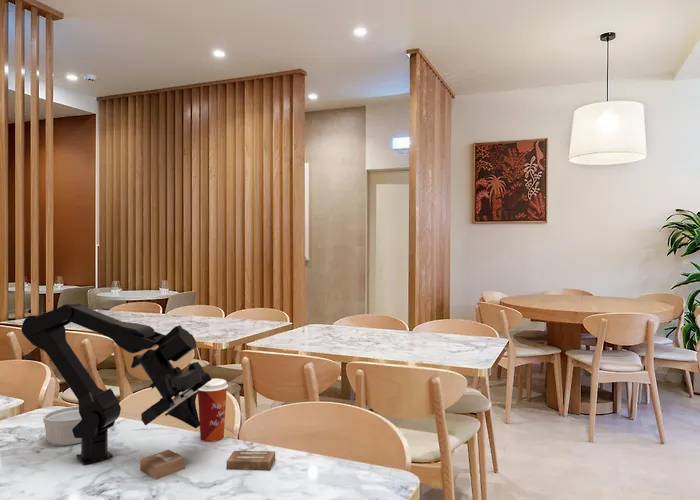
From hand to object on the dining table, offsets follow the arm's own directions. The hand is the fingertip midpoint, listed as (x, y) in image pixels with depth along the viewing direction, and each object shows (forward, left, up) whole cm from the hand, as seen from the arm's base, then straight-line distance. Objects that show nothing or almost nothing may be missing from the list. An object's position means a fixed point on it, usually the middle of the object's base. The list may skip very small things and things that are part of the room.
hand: (198, 426), depth 117 cm
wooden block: (+6, +5, -8) cm, 11 cm away
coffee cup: (-12, +10, -9) cm, 18 cm away
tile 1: (-2, -8, -9) cm, 12 cm away
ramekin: (-38, -17, -9) cm, 42 cm away
